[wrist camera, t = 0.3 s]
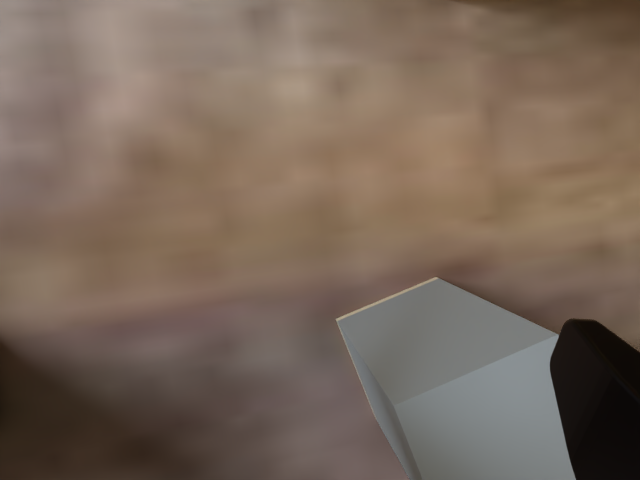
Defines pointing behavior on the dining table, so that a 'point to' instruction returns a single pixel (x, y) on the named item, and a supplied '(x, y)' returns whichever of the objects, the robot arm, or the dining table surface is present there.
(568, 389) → the robot arm
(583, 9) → the dining table surface
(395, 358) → the gray block
